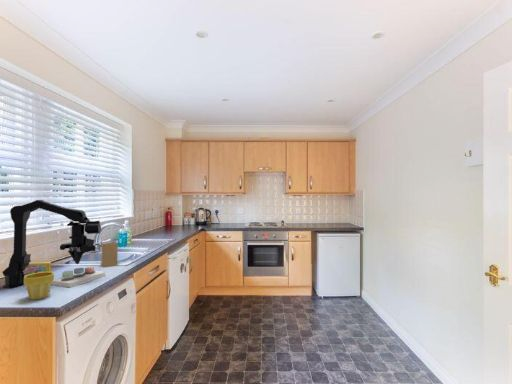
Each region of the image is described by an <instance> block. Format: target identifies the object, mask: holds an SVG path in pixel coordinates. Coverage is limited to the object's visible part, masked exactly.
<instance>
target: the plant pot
mask: <svg viewBox="0 0 512 384" xmlns="http://www.w3.org/2000/svg"><path fill="white" fill-rule="evenodd" d="M54 279H55V273H54V272H53V271H51V272H39V273H33V274H29V275H26V276H24V285H23V286H25V288H26V291H27V297H28V298H29V300H32V301H33V300H34V301H35V300H40V299H44V298H47V297H49V293H50V290H51V283H52V281H53V280H54Z"/></svg>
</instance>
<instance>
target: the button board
mask: <svg viewBox="0 0 512 384" xmlns="http://www.w3.org/2000/svg"><path fill="white" fill-rule="evenodd" d="M105 276H106V272H105V271H99V270H94V272H91V273H85V270H84V272H83V273H80V274H74V273H73V276H70V277H62V276H60V277H57V278H54V280H53V281H52V283H51V285H53V286H58V287H64V288H72V287H76V286H78V285H82V284H84V283H87V282H89V281H94V280H96V278H97V279H99V277H100V278H103V277H105Z"/></svg>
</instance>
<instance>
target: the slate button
mask: <svg viewBox="0 0 512 384" xmlns="http://www.w3.org/2000/svg"><path fill="white" fill-rule="evenodd" d="M84 271H85V268H84V267H77V268H74V269H73V274H80V273H83V272H84Z"/></svg>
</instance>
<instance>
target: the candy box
mask: <svg viewBox="0 0 512 384" xmlns="http://www.w3.org/2000/svg"><path fill="white" fill-rule="evenodd" d="M22 272H24V274H25V276H26V275H29V274H33V273H39V272H52V262H51V261H47V262H44V261H42V262H40V261H39V262H37V261H36V262H29V265H28V266H27V267H26V268H25V270H24V271H22Z"/></svg>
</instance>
